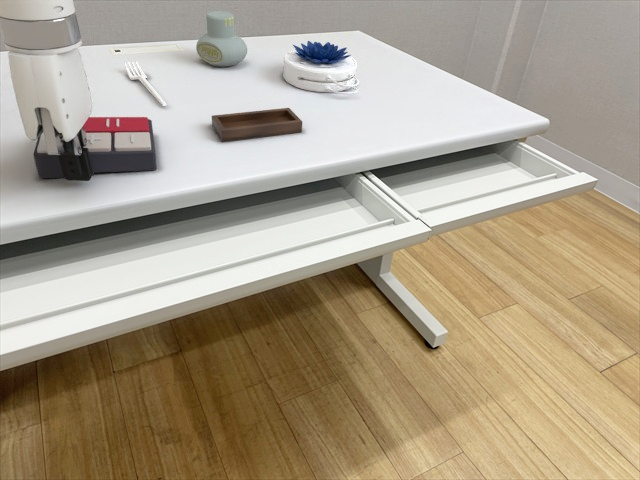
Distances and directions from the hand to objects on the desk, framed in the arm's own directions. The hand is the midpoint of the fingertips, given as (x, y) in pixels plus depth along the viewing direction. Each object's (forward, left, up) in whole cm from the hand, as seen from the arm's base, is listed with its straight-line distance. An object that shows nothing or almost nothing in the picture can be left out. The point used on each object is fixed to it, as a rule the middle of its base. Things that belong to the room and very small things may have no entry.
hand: (79, 177), depth 62 cm
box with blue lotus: (+37, +43, -2) cm, 57 cm away
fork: (+2, +35, -2) cm, 35 cm away
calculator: (0, +8, -2) cm, 8 cm away
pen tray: (+23, +19, -1) cm, 30 cm away
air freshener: (+15, +52, -2) cm, 54 cm away
